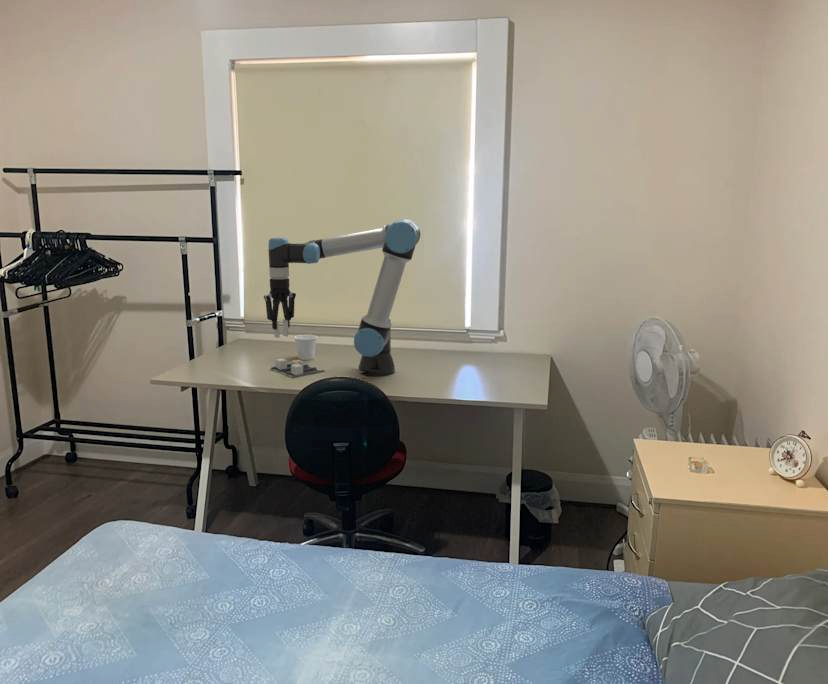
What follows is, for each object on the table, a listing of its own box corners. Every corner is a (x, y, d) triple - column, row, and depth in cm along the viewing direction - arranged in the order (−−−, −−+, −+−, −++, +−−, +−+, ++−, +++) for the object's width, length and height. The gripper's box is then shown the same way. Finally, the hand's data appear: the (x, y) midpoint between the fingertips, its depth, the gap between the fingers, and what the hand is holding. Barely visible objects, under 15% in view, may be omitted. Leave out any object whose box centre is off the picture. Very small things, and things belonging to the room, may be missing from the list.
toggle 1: (287, 368, 284) (286, 360, 284) (280, 369, 282) (280, 361, 282) (281, 366, 287) (281, 358, 286) (275, 367, 285) (275, 359, 285)
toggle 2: (303, 369, 283) (303, 361, 282) (297, 371, 281) (296, 362, 280) (298, 367, 286) (297, 359, 285) (291, 369, 284) (291, 360, 283)
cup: (320, 359, 308) (319, 334, 305) (314, 364, 298) (314, 339, 296) (298, 358, 309) (297, 334, 306) (292, 363, 299) (291, 338, 297)
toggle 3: (303, 374, 276) (302, 365, 275) (296, 375, 274) (296, 367, 273) (297, 372, 279) (297, 364, 278) (291, 373, 277) (290, 365, 276)
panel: (326, 374, 282) (326, 369, 282) (292, 381, 272) (292, 376, 271) (302, 366, 295) (302, 361, 295) (269, 372, 285) (268, 367, 284)
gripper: (292, 275, 278) (294, 332, 283) (255, 278, 268) (258, 337, 273) (302, 277, 273) (304, 335, 278) (265, 280, 262) (268, 341, 267)
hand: (281, 336), depth 275 cm, fingers open, 3 cm apart
